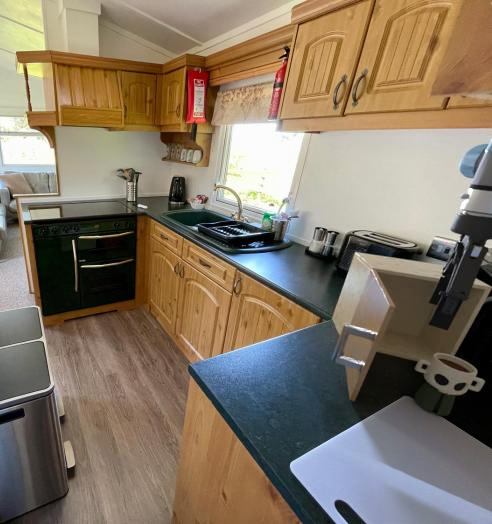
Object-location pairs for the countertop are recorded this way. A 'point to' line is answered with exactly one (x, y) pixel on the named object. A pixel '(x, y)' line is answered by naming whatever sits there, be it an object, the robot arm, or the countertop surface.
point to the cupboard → (408, 306)
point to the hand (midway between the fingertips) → (437, 315)
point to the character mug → (445, 382)
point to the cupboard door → (364, 333)
